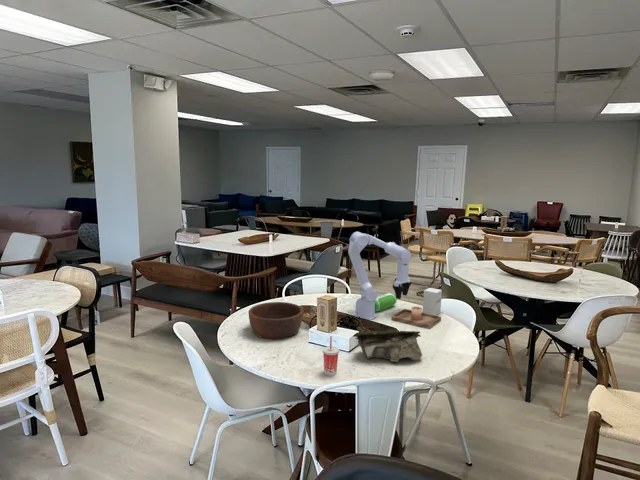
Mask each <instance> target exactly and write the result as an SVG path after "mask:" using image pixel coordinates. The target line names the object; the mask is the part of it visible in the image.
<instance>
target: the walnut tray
mask: <svg viewBox="0 0 640 480" xmlns="http://www.w3.org/2000/svg"><path fill="white" fill-rule="evenodd" d="M411 310H412V309H406V308H402V309H401V310H399V311H398V312H397V313H395V314H393V315H392V316H391V321H393V322H398V323H400V324H401V323H402V324H406V325H409V326H410V325H411V326H414V327H418V328H419V327H420V328H423V329H427V330H430V329H432V328H433V327H435V326H436V325H437V324H438V323H440V322H441V321H442V316H440V315H431V314H427V313H423V312H422V315H421V320H418V321H416V320H412V319H411Z"/></svg>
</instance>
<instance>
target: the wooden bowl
mask: <svg viewBox="0 0 640 480" xmlns="http://www.w3.org/2000/svg"><path fill="white" fill-rule="evenodd" d="M303 316H304V309H303V307H302V306H300V305H297V304H296V303H290V302H284V301H283V302H282V301H272V302H265V303H258V304H257V305H254V306H252V307H251V308H249V310H248V319H249V324H250V327H251V329H252V332H253V333H254V334H255V335H256V336H257V337H259V338H263V339H268V340H283V339H285V338H290V337H293V336H294V335H296V334H297V333H298V332H299V330H300V328H301V326H302V323H303Z"/></svg>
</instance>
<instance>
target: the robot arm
mask: <svg viewBox="0 0 640 480" xmlns="http://www.w3.org/2000/svg"><path fill="white" fill-rule="evenodd" d="M367 245H368V246H371V245H374V246H377V247H378V248H382V249H384V252H385V253H386V254H389V255H391V256H393V257H395V258H397V269H396V279H395V282H394V283H393V284H392V289H393V291H394V295H395V296H396V299H398V300H401V299H402V296H408V293H409V289H410V286H411V285H412V282H413V281H411V277H409V268H410V267H409V266H410V260H411V258H412V254H411V251H410V250H409V249H407V248H404V246H402V245H398V244H396V242H394V241H392V242H391V241H389V242H385V241H383V240H381V239H379V238H377V237H375V236H373V235H370V234H368V233H363V232H360V231H355V232H353V233H352V234H351V235H350V238H349V244H348V250H347V251H348V252H347V253H348V256H349V258H350V261H351V264H352V266H353V269H354V272H355V274H356V278H357V280H358V283H359V284H358V287H359V294H360V295H361V296H360V297H361V298H360V297H359V298H357V299H356V302H355V314H354V317H355V318H359V317H360V319H365V320H368V321H372V320H373V319H375V318H377V317H378V316H379V315H378V314H375V313H376V312H375V299H376V298H377V296H378V293H377V291H376V290H375V289H374V288H373V285H372V284H371V282H370V280H369V276H368V273H367V271H366V269H365V268H366V267H365V265H364V263H363V260H362V257H361V252H362V250H363V249H365V247H366V246H367Z"/></svg>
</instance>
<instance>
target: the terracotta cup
mask: <svg viewBox="0 0 640 480" xmlns="http://www.w3.org/2000/svg"><path fill="white" fill-rule="evenodd" d="M410 310H411V319H412V320H416V321H418V320H421V315H422V313H423V307H420V306H411V309H410Z"/></svg>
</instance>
